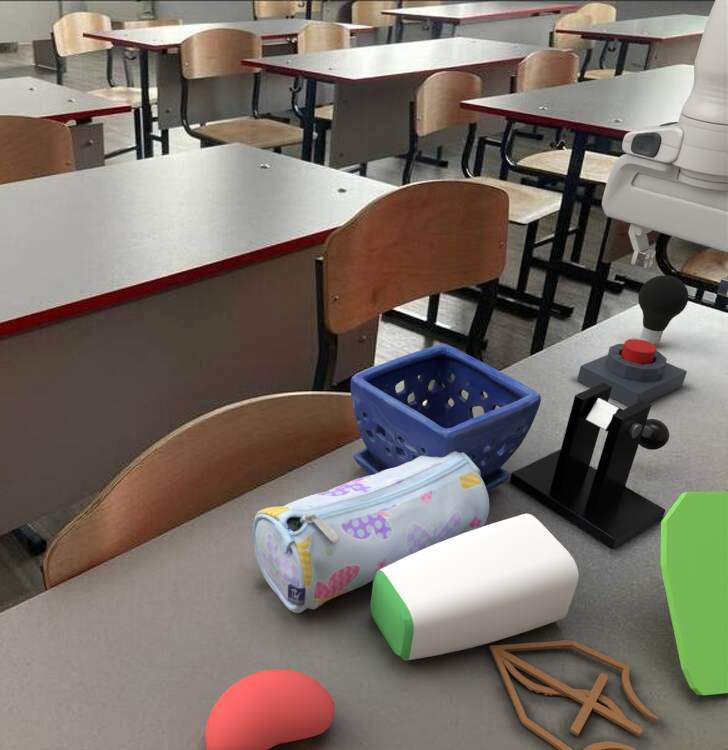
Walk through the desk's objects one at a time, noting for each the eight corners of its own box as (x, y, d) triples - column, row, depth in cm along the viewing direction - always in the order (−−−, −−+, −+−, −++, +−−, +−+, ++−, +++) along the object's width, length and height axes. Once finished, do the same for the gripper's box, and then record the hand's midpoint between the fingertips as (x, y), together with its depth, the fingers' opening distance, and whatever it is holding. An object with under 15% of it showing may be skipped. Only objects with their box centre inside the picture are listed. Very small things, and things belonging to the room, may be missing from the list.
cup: (366, 552, 63) (524, 504, 67) (359, 611, 67) (509, 563, 71) (414, 623, 57) (584, 566, 61) (403, 684, 61) (563, 627, 65)
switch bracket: (558, 457, 86) (583, 362, 80) (662, 519, 77) (699, 417, 71) (508, 482, 82) (531, 383, 76) (612, 549, 73) (647, 444, 68)
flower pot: (428, 542, 74) (447, 436, 68) (337, 469, 84) (347, 371, 78) (523, 494, 80) (547, 394, 74) (428, 432, 90) (443, 338, 84)
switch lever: (635, 442, 84) (651, 416, 84) (663, 457, 82) (680, 430, 82) (578, 420, 75) (595, 391, 75) (608, 437, 73) (626, 406, 72)
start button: (632, 348, 100) (635, 336, 99) (658, 360, 98) (662, 347, 97) (614, 355, 98) (618, 343, 98) (641, 367, 96) (645, 355, 95)
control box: (624, 360, 105) (632, 333, 103) (682, 386, 99) (691, 358, 97) (576, 380, 100) (583, 352, 98) (634, 409, 95) (643, 380, 93)
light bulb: (680, 347, 108) (703, 279, 103) (656, 358, 106) (678, 289, 101) (640, 331, 113) (660, 265, 108) (616, 341, 110) (635, 274, 105)
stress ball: (325, 685, 52) (322, 645, 58) (191, 710, 52) (202, 668, 59) (343, 761, 52) (338, 713, 58) (209, 785, 53) (218, 735, 59)
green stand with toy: (802, 489, 66) (740, 500, 72) (651, 493, 63) (599, 504, 69) (852, 680, 62) (782, 676, 68) (693, 696, 59) (633, 689, 64)
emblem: (626, 789, 53) (623, 795, 53) (671, 688, 59) (668, 694, 60) (460, 688, 59) (459, 694, 60) (517, 607, 66) (515, 613, 66)
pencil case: (291, 638, 64) (297, 549, 59) (240, 570, 70) (242, 484, 66) (487, 555, 72) (506, 471, 68) (425, 501, 79) (438, 421, 74)
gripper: (858, 167, 71) (803, 307, 78) (645, 124, 86) (614, 245, 93) (825, 178, 68) (770, 323, 75) (609, 131, 83) (580, 256, 90)
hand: (682, 280), depth 84 cm, fingers open, 8 cm apart
